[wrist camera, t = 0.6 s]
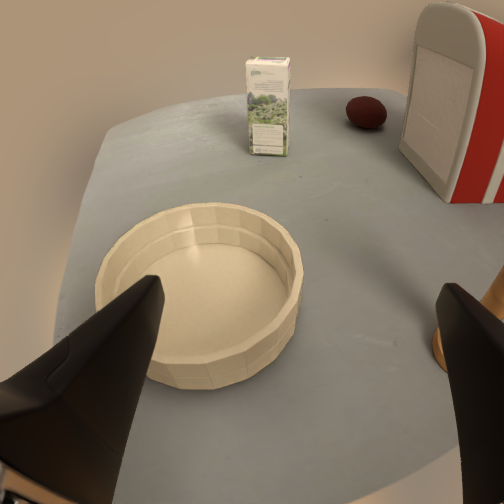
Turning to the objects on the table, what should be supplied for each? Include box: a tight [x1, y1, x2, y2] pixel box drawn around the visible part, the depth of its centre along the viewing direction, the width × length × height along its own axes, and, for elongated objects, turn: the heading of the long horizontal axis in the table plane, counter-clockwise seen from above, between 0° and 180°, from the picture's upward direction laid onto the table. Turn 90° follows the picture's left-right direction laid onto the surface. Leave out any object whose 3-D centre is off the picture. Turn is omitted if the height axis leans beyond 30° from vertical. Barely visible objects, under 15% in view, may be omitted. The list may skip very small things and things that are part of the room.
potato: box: [346, 96, 387, 128], centre depth 53 cm, size 7×8×6 cm
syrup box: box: [245, 57, 290, 156], centre depth 43 cm, size 6×6×14 cm
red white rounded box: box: [399, 1, 504, 204], centre depth 33 cm, size 16×18×27 cm
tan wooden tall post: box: [432, 266, 504, 372], centre depth 17 cm, size 6×6×15 cm
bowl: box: [95, 202, 304, 389], centre depth 26 cm, size 16×16×5 cm
